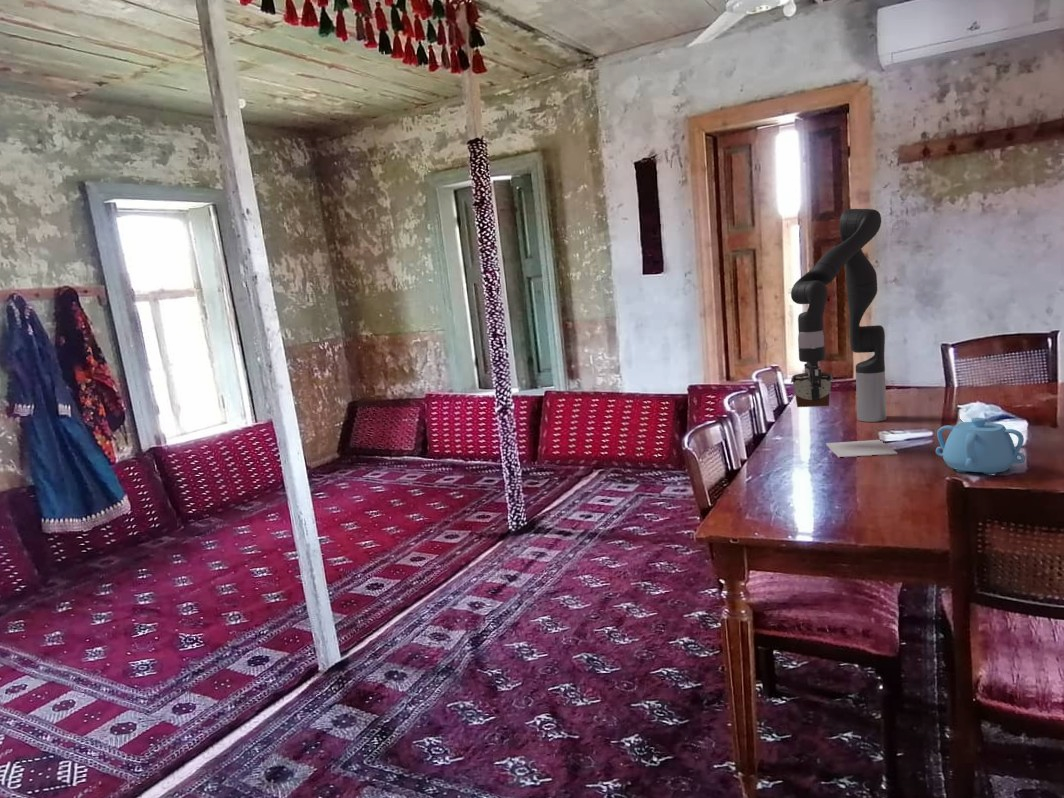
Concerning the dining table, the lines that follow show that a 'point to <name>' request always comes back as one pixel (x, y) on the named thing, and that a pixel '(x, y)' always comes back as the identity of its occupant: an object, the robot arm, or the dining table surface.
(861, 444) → the mat
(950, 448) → the decorative pot
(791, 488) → the dining table surface
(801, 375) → the food container
